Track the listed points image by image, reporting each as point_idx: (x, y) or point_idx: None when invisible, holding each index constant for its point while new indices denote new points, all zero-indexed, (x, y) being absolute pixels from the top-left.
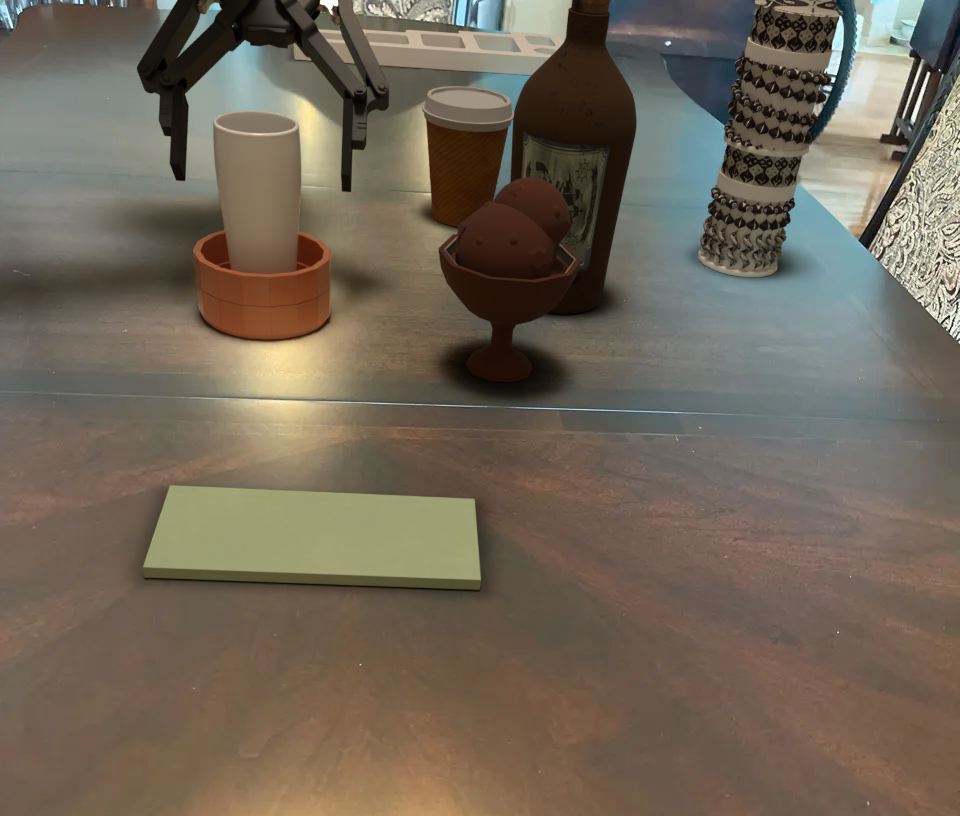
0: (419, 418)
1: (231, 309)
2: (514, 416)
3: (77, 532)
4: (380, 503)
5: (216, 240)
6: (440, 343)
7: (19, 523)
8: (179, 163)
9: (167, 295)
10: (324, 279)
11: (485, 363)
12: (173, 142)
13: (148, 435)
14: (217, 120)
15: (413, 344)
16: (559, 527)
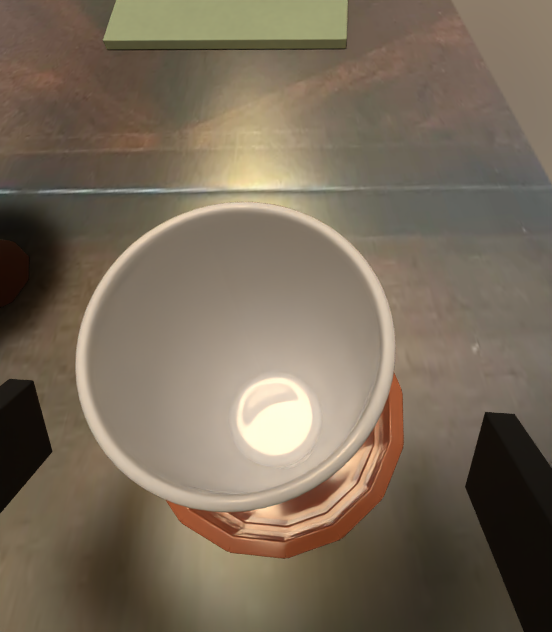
0: (116, 166)
1: None
2: (18, 176)
3: (406, 10)
4: (178, 30)
5: (368, 486)
6: (40, 338)
7: (452, 15)
8: (485, 416)
9: (446, 488)
10: None
11: (5, 251)
12: (536, 461)
13: (383, 122)
14: (380, 353)
15: (78, 332)
16: (49, 36)
